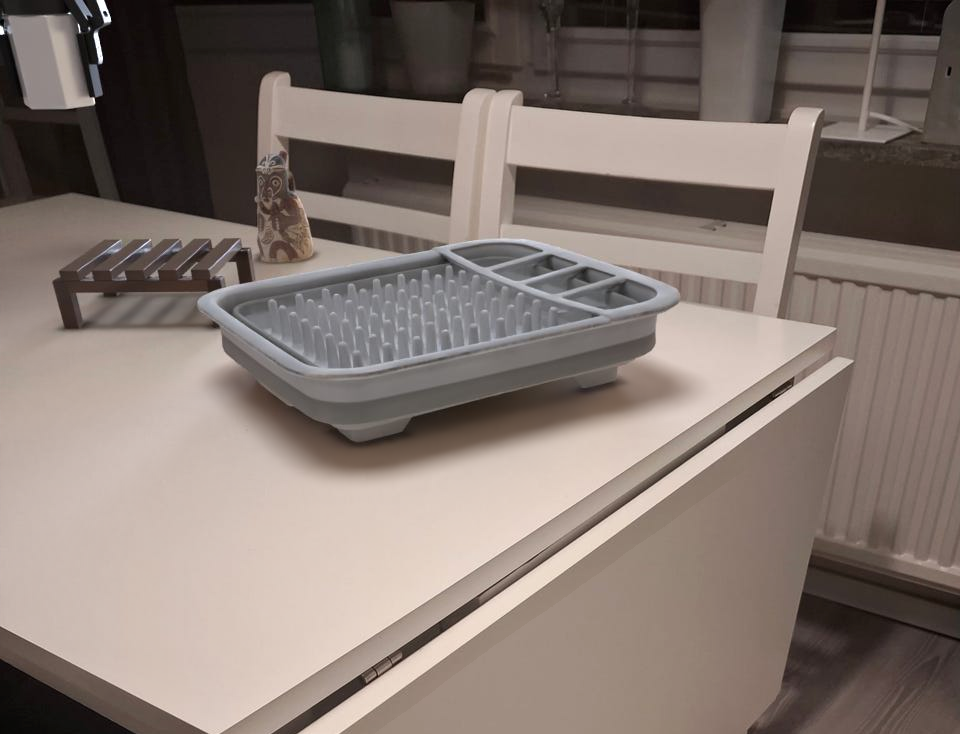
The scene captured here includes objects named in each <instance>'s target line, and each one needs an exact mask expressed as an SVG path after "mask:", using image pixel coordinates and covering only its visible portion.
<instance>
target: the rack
mask: <svg viewBox="0 0 960 734" xmlns="http://www.w3.org/2000/svg"><path fill="white" fill-rule="evenodd" d="M253 259H254V258H253V252H252V247H247V246H246V247H243V243H242V238H241V237H227V238H226V237H223V239H221V240H220V241H219V242H218V243H217V244H216V245H215V246H214V247H213V243H212V238H193V239H192V240H190V241H189V242H188V243H187V244H186V245H184V247H183V243H182V239H181V238H163V239H162V240H160V241H159V242H158V243H157V244H156V245H155V246H153V243H152V239H151V238H137V239H136V238H135V239H132V241H130V242H128V243H127V244H126V245H125V246H123V242H122V239H103V240H102V241H100V242H99V243H98V244H96V245H94V246H93V247H92V248H90V249H88V250H87V251H85V252H84V253H83V254H81V255H80V256H78V257H77V258H75V259H74V260H73V261H71V262H70V263H68V264H67V265H65V266H64V267H62V268H61V269H60V270H58V273H59V276H58V277H56V278H54V279H53V280H52V287H53V289H54V294H55V297H56V301H57V305H58V309H59V312H60V317H61V320H62V324H63V327H64V329H66V330H67V329H69V330H70V329H76V330H77V329H80V328H82V326H84V325H85V323H84V318H83V315H82V310H81V307H80V302H79V299H78V295H77V294H102V295H103V297H104V298H105V297H107V298H108V297H109V298H110V297H111V298H112V297H118V296H120V295H121V294H122V293H207V294H208V293H210V292H212V291H215V290H218V289H222V288H225V287H227V284H226V279H225V275H217V274H218V273H219V272H220V271H221V270H222V269H223V268H224V267H225V266H226V265H227V264H228V263H235V265H236V271H237V277H238V285H239V284H244V283H249V282H255V281H257V280H256V274H255V273H256V272H255V266H254V260H253ZM189 270H190V274H191V275H185V274H186V273H187V272H188V271H189ZM155 272H157V276H156V275H155V276H154V275H153V274H154V273H155ZM123 273H124V275H125V276H120V275H121V274H123ZM90 274H91V275H92V276H88V275H90ZM152 275H153V276H152ZM212 323H213V328H214V329H215V328H219V329H220V326H219V324H217V323H216V322H215V321H213V320H212Z"/></svg>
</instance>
